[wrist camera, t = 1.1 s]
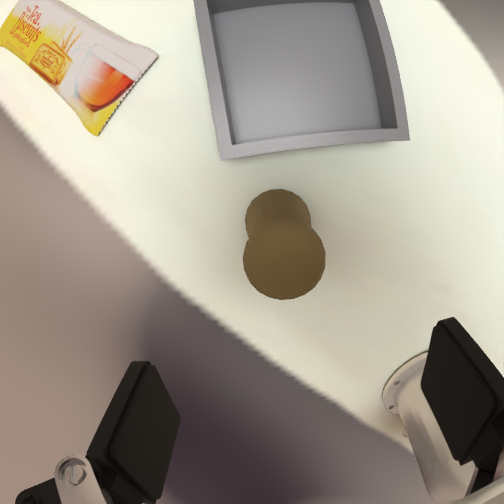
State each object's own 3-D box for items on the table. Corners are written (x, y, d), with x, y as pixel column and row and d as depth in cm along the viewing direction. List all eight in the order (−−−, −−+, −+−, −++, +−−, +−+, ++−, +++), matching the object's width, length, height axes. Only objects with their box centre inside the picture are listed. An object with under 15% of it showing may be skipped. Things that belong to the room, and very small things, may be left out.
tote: (388, 139, 24) (409, 140, 20) (227, 157, 25) (220, 160, 21) (358, -1, 19) (372, -20, 15) (202, 12, 20) (192, -8, 16)
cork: (243, 249, 29) (231, 311, 18) (247, 186, 26) (236, 215, 16) (306, 254, 28) (327, 317, 18) (314, 192, 26) (345, 225, 16)
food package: (-13, 40, 18) (29, -22, 15) (-3, 42, 20) (38, -18, 17) (90, 138, 23) (155, 52, 21) (101, 138, 26) (163, 58, 23)
